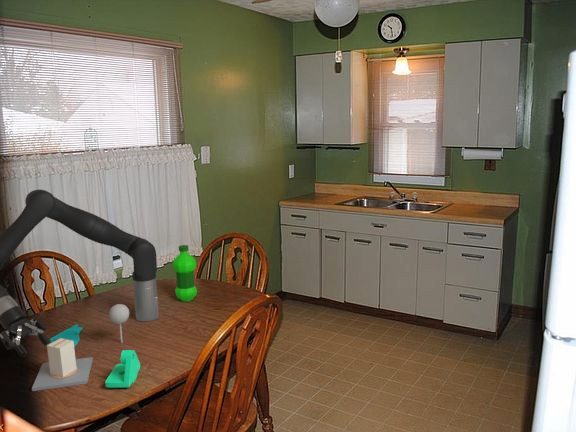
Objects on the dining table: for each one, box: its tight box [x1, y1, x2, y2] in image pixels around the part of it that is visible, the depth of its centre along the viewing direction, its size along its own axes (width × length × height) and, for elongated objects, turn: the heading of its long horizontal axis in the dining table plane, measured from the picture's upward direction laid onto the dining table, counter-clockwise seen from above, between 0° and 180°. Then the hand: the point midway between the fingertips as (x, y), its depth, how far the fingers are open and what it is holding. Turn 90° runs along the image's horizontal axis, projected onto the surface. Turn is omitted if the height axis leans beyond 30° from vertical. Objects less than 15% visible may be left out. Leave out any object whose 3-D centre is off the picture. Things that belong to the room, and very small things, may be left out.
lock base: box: [31, 356, 94, 392], centre depth 166 cm, size 16×16×6 cm
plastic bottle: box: [172, 244, 198, 302], centre depth 227 cm, size 10×10×25 cm
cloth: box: [49, 323, 84, 348], centre depth 192 cm, size 26×14×2 cm, turn 179°
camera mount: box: [104, 349, 141, 388], centre depth 162 cm, size 12×8×10 cm, turn 0°
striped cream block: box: [46, 338, 77, 377], centre depth 165 cm, size 6×6×10 cm
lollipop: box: [108, 303, 130, 344], centre depth 187 cm, size 7×7×15 cm
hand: (36, 349), depth 169 cm, fingers open, 8 cm apart
